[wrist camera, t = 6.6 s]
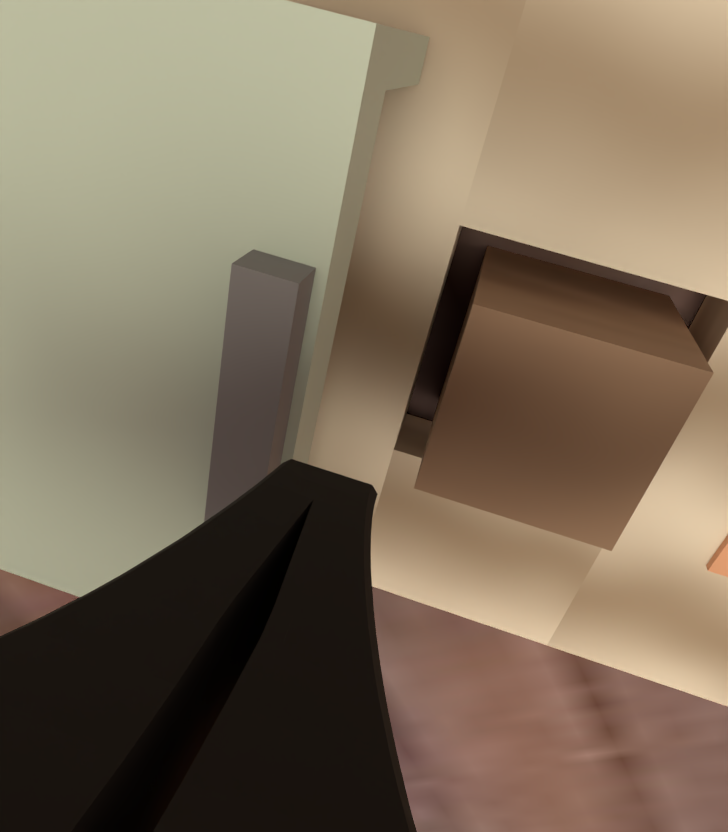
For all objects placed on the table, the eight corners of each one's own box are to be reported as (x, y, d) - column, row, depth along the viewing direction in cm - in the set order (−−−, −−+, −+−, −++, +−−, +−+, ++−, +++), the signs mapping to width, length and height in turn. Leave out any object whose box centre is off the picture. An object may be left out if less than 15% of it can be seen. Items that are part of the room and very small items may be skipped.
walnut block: (594, 445, 18) (611, 551, 14) (439, 397, 18) (413, 488, 14) (668, 295, 15) (714, 372, 11) (488, 244, 16) (473, 303, 12)
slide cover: (315, 527, 18) (240, 689, 13) (63, 444, 19) (-92, 570, 14) (429, 36, 12) (361, 18, 7) (39, -63, 12) (-260, -140, 8)
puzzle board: (893, 711, 19) (932, 781, 18) (120, 456, 22) (81, 493, 20) (1484, 182, 11) (1677, 206, 9) (128, -143, 13) (63, -177, 11)
